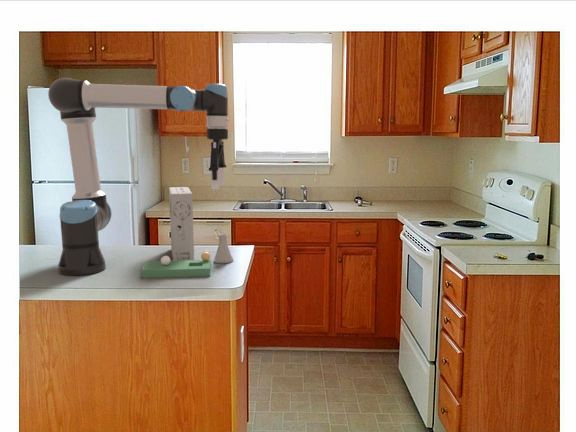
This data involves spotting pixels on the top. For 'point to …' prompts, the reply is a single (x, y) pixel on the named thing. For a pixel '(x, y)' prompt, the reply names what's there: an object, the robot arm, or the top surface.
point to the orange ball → (205, 256)
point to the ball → (165, 260)
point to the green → (177, 268)
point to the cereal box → (181, 223)
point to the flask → (223, 251)
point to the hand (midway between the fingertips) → (218, 187)
